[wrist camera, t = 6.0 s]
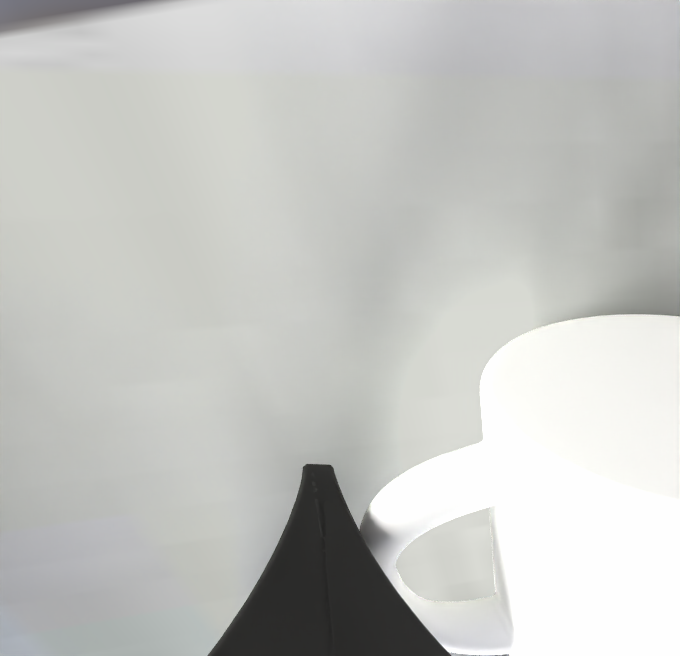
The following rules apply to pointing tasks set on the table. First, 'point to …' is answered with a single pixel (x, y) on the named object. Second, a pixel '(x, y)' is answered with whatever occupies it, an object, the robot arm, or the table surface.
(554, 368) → the mug
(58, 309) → the table surface
